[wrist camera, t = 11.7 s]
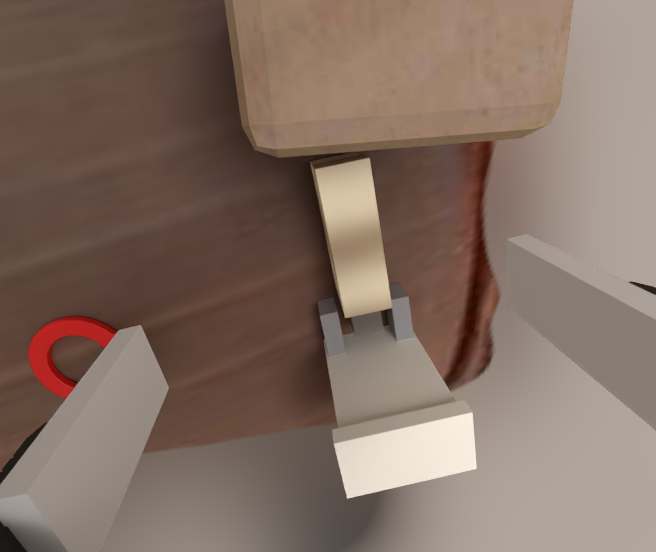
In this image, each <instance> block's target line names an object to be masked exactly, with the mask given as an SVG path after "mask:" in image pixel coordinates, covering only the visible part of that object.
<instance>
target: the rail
mask: <svg viewBox="0 0 656 552" xmlns="http://www.w3.org/2000/svg"><path fill="white" fill-rule="evenodd" d="M310 164H311V169H312V174H313V179H314V183H315V188H316V193H317V198H318V203H319V208H320V213H321V217H322V222H323V227H324V232H325V237H326V242H327V246H328V251H329V256H330V261H331V266H332V271H333V276H334V280H335V285H336V289H337V293H338V296H339V299H340V303H341V306H342V309H343V313H344V316H345V318H349V319H350V322H351V325H352V328H353V331H354V334H355V337H360V336H365V335H369V334H373V333H378V332H382V331H384V328H383V322H382V316H381V310H385V309H390V308H392V303H391V296H390V290H389V283H388V276H387V270H386V263H385V257H384V250H383V243H382V237H381V230H380V223H379V217H378V210H377V204H376V197H375V190H374V184H373V177H372V170H371V164H370V158H369V157H366V156H364V155H361V154H359V153H356V152H352V153H347V154H342V155H338V156H333V157H328V158H324V159H319V160H314V161H310Z"/></svg>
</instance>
